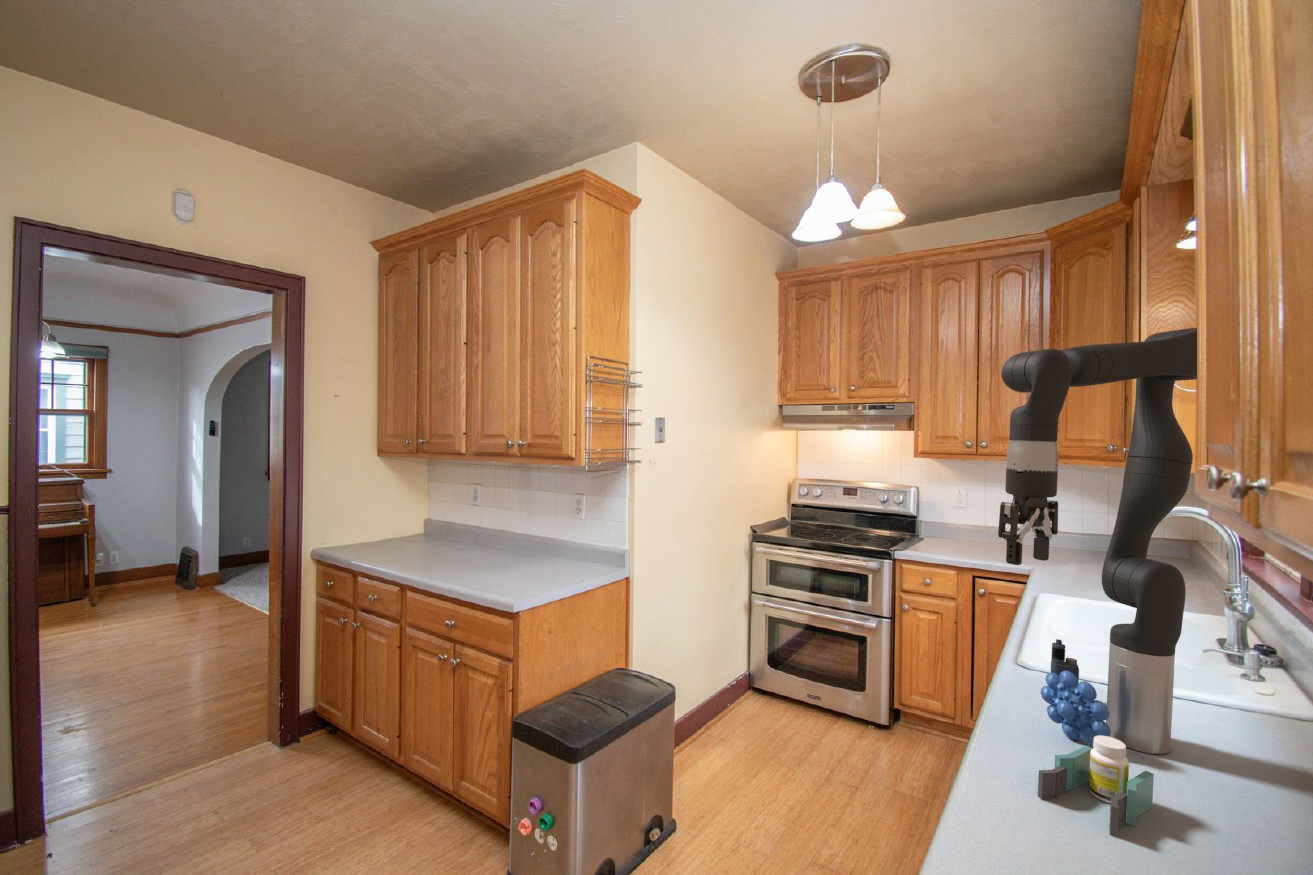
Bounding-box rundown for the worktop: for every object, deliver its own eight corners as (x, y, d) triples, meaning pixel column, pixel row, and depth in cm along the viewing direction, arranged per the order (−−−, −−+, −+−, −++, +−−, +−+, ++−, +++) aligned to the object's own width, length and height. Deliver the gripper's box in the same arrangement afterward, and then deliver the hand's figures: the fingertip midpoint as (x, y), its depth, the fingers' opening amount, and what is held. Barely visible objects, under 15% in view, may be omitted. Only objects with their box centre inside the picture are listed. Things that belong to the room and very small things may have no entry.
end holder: (1080, 772, 99) (1081, 741, 99) (1160, 808, 89) (1162, 775, 89) (1052, 787, 94) (1053, 755, 94) (1134, 827, 85) (1135, 792, 85)
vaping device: (1046, 693, 129) (1049, 637, 129) (1073, 695, 128) (1076, 639, 128) (1053, 698, 126) (1055, 641, 126) (1080, 701, 126) (1082, 643, 125)
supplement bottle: (1110, 787, 95) (1113, 734, 95) (1135, 805, 90) (1138, 750, 90) (1081, 786, 95) (1083, 733, 94) (1104, 805, 90) (1106, 749, 90)
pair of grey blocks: (1054, 787, 94) (1055, 761, 94) (1133, 826, 85) (1134, 798, 85) (1036, 796, 91) (1037, 770, 91) (1115, 837, 83) (1117, 808, 82)
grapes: (1026, 729, 113) (1028, 665, 112) (1047, 722, 116) (1049, 660, 115) (1095, 761, 102) (1098, 690, 102) (1116, 752, 105) (1119, 684, 105)
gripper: (1031, 465, 110) (1027, 554, 110) (986, 466, 103) (981, 560, 103) (1076, 469, 104) (1072, 563, 104) (1032, 469, 96) (1027, 570, 97)
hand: (1027, 561), depth 103 cm, fingers open, 8 cm apart
